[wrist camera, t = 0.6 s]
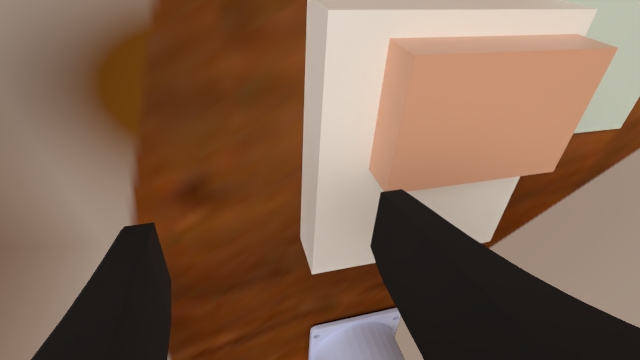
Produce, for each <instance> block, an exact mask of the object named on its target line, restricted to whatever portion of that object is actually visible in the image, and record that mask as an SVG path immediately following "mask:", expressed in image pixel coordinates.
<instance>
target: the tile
mask: <svg viewBox="0 0 640 360" xmlns="http://www.w3.org/2000/svg"><path fill="white" fill-rule="evenodd" d="M617 49H618V47H615V46H612V45H609V44H606V43H603V42H600V41H597V40H594V39H591V38H588V37H585V36H582V35H579V34H554V35H511V36H467V37H424V38H390V40H389V46H388V53H387V59H386V65H385V71H384V77H383V84H382V90H381V96H380V102H379V109H378V115H377V121H376V127H375V133H374V140H373V146H372V152H371V158H370V165H369V170H370V171H371V173H372V174H373V176H374V177H375V179H376V180H377V182H378V184H379V185H380V187H381V188H382V190H383V191H392V190H399V189H402V190H404V191H405V192H409V191H416V190H423V189H431V188H438V187H445V186H452V185H460V184H467V183H474V182H481V181H489V180H496V179H503V178H511V177H518V176H525V175H532V174H540V173H547V172H553V171H554V169H555V167H556V165H557V163H558V162H559V160H560V158H561V156H562V154H563V152H564V150H565V148H566V146H567V144H568V143H569V141H570V139H571V137H572V135H573V133H574V131H575V129H576V127H577V125H578V124H579V122H580V120H581V118H582V116H583V114H584V112H585V110H586V108H587V106H588V105H589V103H590V101H591V99H592V97H593V95H594V93H595V91H596V89H597V87H598V86H599V84H600V82H601V80H602V78H603V76H604V74H605V72H606V70H607V68H608V67H609V65H610V63H611V61H612V59H613V57H614V55H615V53H616V51H617Z"/></svg>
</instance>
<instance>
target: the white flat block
mask: <svg viewBox="0 0 640 360" xmlns="http://www.w3.org/2000/svg"><path fill="white" fill-rule="evenodd" d="M597 10H598V9H595V8H591V7H587V6H583V5H579V4H576V3H572V2H568V1H564V0H307V26H306V59H305V93H304V127H303V160H302V194H301V228H300V238H301V242H302V245H303V248H304V251H305V254H306V257H307V260H308V263H309V267H310V270H311V273H312V274H317V273H322V272H328V271H333V270H338V269H344V268H349V267H355V266H360V265H365V264H371V263H376V261H375V258H374V256H373V253H372V250H371V247H370V245H371V240H372V235H373V229H374V224H375V219H376V214H377V209H378V203H379V198H380V193H381V192H384V191H383V190H382V188H381V187H380V185H379V184H378V182H377V180H376V179H375V177H374V176H373V174H372V173H371V171H370V170H369V165H370V158H371V152H372V146H373V140H374V133H375V127H376V121H377V115H378V109H379V102H380V96H381V90H382V84H383V77H384V71H385V65H386V59H387V53H388V46H389V40H390V38H424V37H467V36H511V35H554V34H579V35H582V36H586V34H587V32H588V29H589V27H590V25H591V23H592V21H593V19H594V17H595V14H596V12H597ZM519 178H520V176H518V177H511V178H503V179H496V180H489V181H481V182H474V183H467V184H460V185H452V186H445V187H438V188H431V189H423V190H416V191H409V192H407V193H409V194H410V195H411V196H413V197H414V198H416V199H417V200H419V201H420V202H422V203H423V204H424V205H426V206H427V207H429V208H430V209H431V210H433V211H434V212H436V213H437V214H439V215H440V216H441V217H443V218H444V219H446V220H447V221H448V222H450V223H451V224H453V225H454V226H456V227H457V228H459V229H460V230H461V231H463V232H464V233H466V234H467V235H469V236H470V237H472V238H473V239H475V240H476V241H478V242H479V243H484V242H489V241H490V240H491V238H492V236H493V234H494V232H495V229H496V227H497V225H498V223H499V221H500V219H501V217H502V214H503V212H504V210H505V208H506V206H507V204H508V201H509V199H510V197H511V195H512V193H513V191H514V189H515V186H516V184H517V182H518V180H519Z"/></svg>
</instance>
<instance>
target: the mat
mask: <svg viewBox="0 0 640 360" xmlns="http://www.w3.org/2000/svg"><path fill="white" fill-rule="evenodd" d="M564 1H568V2H572V3H576V4H579V5H583V6H587V7H591V8H595V9H598V10H597V12H596V14H595V17H594V19H593V21H592V23H591V25H590V27H589V29H588V32H587V34H586V36H585V37H588V38H591V39H594V40H597V41H600V42H603V43H606V44H609V45H612V46H615V47H618V49H617V51H616V53H615V55H614V57H613V59H612V61H611V63H610V65H609V67H608V68H607V70H606V72H605V74H604V76H603V78H602V80H601V82H600V84H599V86H598V87H597V89H596V91H595V93H594V95H593V97H592V99H591V101H590V103H589V105H588V106H587V108H586V110H585V112H584V114H583V116H582V118H581V120H580V122H579V124H578V125H577V127H576V129H575V131H574V133H581V132H590V131H600V130H609V129H618V128H621V126H622V125H623V123H624V121H625V120H626V118H627V116H628V115H629V113H630V111H631V110H632V108H633V106H634V105H635V103H636V101H637V100H638V98H639V97H640V0H564Z"/></svg>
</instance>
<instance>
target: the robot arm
mask: <svg viewBox="0 0 640 360" xmlns="http://www.w3.org/2000/svg"><path fill="white" fill-rule="evenodd" d="M370 247H371V250H372V253H373V256H374V258H375V261H376V264H377V267H378V269H379V272H380V275H381V277H382V280H383V282H384V284H385V286H386V288H387V290H388V292H389V294H390V295H391V297H392V299H393V301H394V303H395V305H396V307H397V308H393V309H388V310H384V311H379V312H375V313H370V314H366V315H361V316H357V317H352V318H348V319H343V320H339V321H334V322H330V323H325V324H321V325H316V326H314V327H312V328H311V330H310V342H309V357H308V360H404V357H403V355H402V353H401V351H400V348H399V346H398V344H397V342H396V340H395V338H394V337H395V333H396V330H397V327H398V324H399V321H400V318H401V317H402V318H403V320H404V322H405V324H406V326H407V328H408V330H409V332H410V334H411V335H412V337H413V339H414V341H415V343H416V345H417V347H418V349H419V351H420V353H421V354H422V356H423V359H424V360H640V328H639V327H636V326H634V325H632V324H629V323H627V322H625V321H623V320H621V319H618V318H616V317H614V316H612V315H610V314H608V313H606V312H603V311H601V310H599V309H597V308H595V307H593V306H591V305H588V304H586V303H584V302H582V301H580V300H578V299H576V298H574V297H572V296H570V295H568V294H567V293H564V292H563V291H561V290H559V289H557V288H555V287H553V286H551V285H550V284H548V283H546V282H544V281H542V280H540V279H539V278H537V277H535V276H533V275H531V274H530V273H528V272H526V271H524V270H523V269H521V268H519V267H518V266H516V265H514V264H512V263H511V262H509V261H508V260H506V259H505V258H503V257H501V256H500V255H498V254H496V253H495V252H493V251H492V250H490V249H489V248H487V247H485V246H484V245H482V244H481V243H479V242H478V241H476V240H475V239H473V238H472V237H470V236H469V235H467V234H466V233H464V232H463V231H461V230H460V229H459V228H457V227H456V226H454V225H453V224H451V223H450V222H448V221H447V220H446V219H444V218H443V217H441V216H440V215H439V214H437V213H436V212H434V211H433V210H431V209H430V208H429V207H427V206H426V205H424V204H423V203H422V202H420V201H419V200H417V199H416V198H414V197H413V196H411V195H410V194H409V193H407V192H405V191H404V190H402V189H399V190H392V191H384V192H381V193H380V198H379V203H378V209H377V214H376V219H375V224H374V229H373V235H372V240H371V245H370ZM170 328H171V279H170V276H169V273H168V269H167V266H166V262H165V259H164V255H163V252H162V249H161V245H160V242H159V238H158V235H157V232H156V228H155V225H154V223H147V224H140V225H133V226H125V227H124V228H123V229H122V230H121V231H120V233H119V234H118V236H117V237H116V239H115V241H114V242H113V244H112V245H111V247H110V249H109V250H108V252H107V253H106V255H105V257H104V258H103V260H102V261H101V263H100V265H99V266H98V267H97V269H96V271H95V272H94V274H93V275H92V277H91V278H90V280H89V281H88V283H87V284H86V285H85V287H84V288H83V290H82V291H81V293H80V294H79V296H78V297H77V298H76V300H75V301H74V303H73V304H72V306H71V307H70V309H69V310H68V311H67V313H66V314H65V316H64V317H63V318H62V320H61V321H60V322H59V324H58V325H57V326H56V328H55V329H54V330H53V332H52V333H51V334H50V335H49V337H48V338H47V339H46V341H45V342H44V343H43V345H42V346H41V347H40V349H39V350H38V351H37V352H36V354H35V355H34V357H33V358H32V359H31V360H167V355H168V346H169V337H170Z"/></svg>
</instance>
